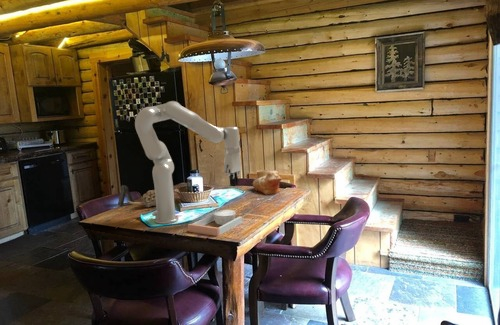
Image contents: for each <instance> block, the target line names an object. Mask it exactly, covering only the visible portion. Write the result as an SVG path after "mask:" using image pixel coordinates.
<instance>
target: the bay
mask: <svg viewBox="0 0 500 325" xmlns="http://www.w3.org/2000/svg"><path fill="white" fill-rule="evenodd" d="M214 221H215V218H214V213H212V214H210V215H207V216H205V217H203V218H202V219H199V220H196V221H195V222H193V223H188V224H187V228H188V229H187V230H188V232H189V233H195V234H202V235H209V236H214V237H220V236H221V235H222V234H224V233H226V232H228V231H229V230H230V231H231V229H234V228H235V227H237V226H239V225H241V224H243V216H240V215H239V216H238V217H235V219H234V220H232V221H230V222H228V223H226V224H224V225H219V227H215V226H208V224H210V223H212V222H214Z"/></svg>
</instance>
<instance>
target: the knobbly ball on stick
mask: <svg viewBox="0 0 500 325" xmlns="http://www.w3.org/2000/svg"><path fill="white" fill-rule="evenodd" d="M140 200H141V201H134V202H131V201H128V200H126V203H129V204H133V205H143V206H144V207H145V208H151V207H152V206H153V207H154V206H156V199H155V189H152V190H148V191H146V193H144V194H143V195H142V196H141V198H140Z"/></svg>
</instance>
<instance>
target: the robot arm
mask: <svg viewBox="0 0 500 325" xmlns="http://www.w3.org/2000/svg"><path fill="white" fill-rule="evenodd" d="M167 120H172V121H174V122H176V123H178V124H179V125H182V126H184V127H185V128H187V129H189V130H190V131H192V132H194V133H196V134H197V135H199V136H200V137H203V138H204V139H206V140H207V141H209V142H212V143H214V144H218V143H220V142H222V141H224V159H223V160H224V162H223V170H224V173H225V174H226V176H228V178H229V186H230V187H236V186H239V174H240V173H241V170H242V160H241V155H240V154H241V152H240V151H241V150H240V133H239V132H240V130H239V128H238V126H227V127H222V126H214V125H213V124H211V123H209V122H208V121H206V120H205V119H203V118H202V117H201V116H200V115H198V114H197V112H194V111H192V110H190V109H188V108H186V107H184V106H182V105H181V104H180V103H179V102H178V101H175V100H171V101H167V102H166V103H163V104H162V103H161V104H158V105H154V106H153V105H152V106H146V107H144V108H142V109H141V110H140V111H139V112H138V113H137V115H136V116H135V121H134V127H135V130H136V131H135V132H136V133H137V135H138V138H139V141H140V143H141V146H142V148H143V150H144V154H145V156H146V157H147V158H148V159H149V160H151V161H152V162H153V164H154V166H153V167H152V180H153V185H154V190H155V199H156V205H155V207H156V208H155V210H154V211H153V212H152V213H151V215H152V216H154V220H153V222H154V223H155V224H161V225H163V224H164V225H166V224H172V223H175V222H177V221H178V220H179V216H178V215H176V206H175V195H174V194H175V193H174V192H175V191H174V182H173V173H174V171H175V164H174V162H173V159H172V157H171V155H170V153H169V150H168V148H167V146H166V144H165V143H164V142H163V141H161V140H159V138H158V136H157V133H156V131H155V129H154V126H153V124H155V123H158V122H163V121H167Z"/></svg>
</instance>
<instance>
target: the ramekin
mask: <svg viewBox="0 0 500 325" xmlns="http://www.w3.org/2000/svg"><path fill="white" fill-rule="evenodd" d="M213 214H214V218H215V220H214V221H215V224H217V225H219V226H222V225H224V224H226V223H228V222H230V221H232V220H234V219H236V211H235V210H233V209H220V210H216V211H214V212H213Z"/></svg>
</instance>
